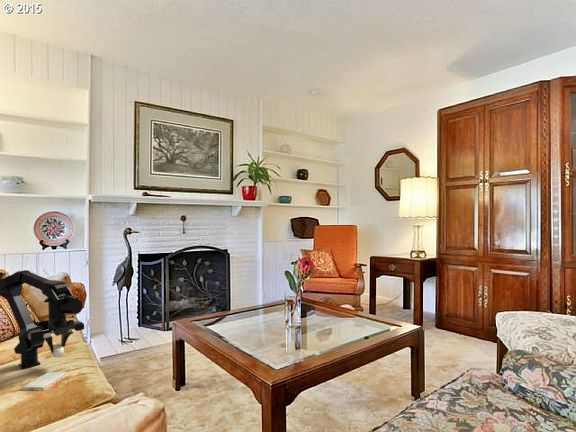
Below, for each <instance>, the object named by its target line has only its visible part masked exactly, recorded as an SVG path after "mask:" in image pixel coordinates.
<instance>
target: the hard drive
mask: <svg viewBox="0 0 576 432" xmlns="http://www.w3.org/2000/svg"><path fill="white" fill-rule="evenodd" d="M64 376H65V377H66V376H68V372H67V371H47V372H46V373H44V374H42V375H41V376H39V377H37V378H36V379H34V380H32V381H31V382H29V383H27V384H26V385H23V386H21V391H29V390H28V389H42V390H41V391H44V390H46V389H47V387H48V386H49V387H51V386H52V385H54V384H55V383H57V382H58V381H60V380H62V379H63V378H65V377H64ZM61 378H62V379H61ZM56 381H57V382H56ZM53 383H54V384H53ZM51 384H52V385H51ZM50 385H51V386H50ZM49 387H48V388H49ZM45 388H46V389H45Z"/></svg>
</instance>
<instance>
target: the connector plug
mask: <svg viewBox="0 0 576 432" xmlns="http://www.w3.org/2000/svg"><path fill="white" fill-rule="evenodd" d="M50 354H51V356H53V357H54V358H61V357H64V355H65V347H63V346H62V345H61V343H55V344H53V353H52V352H51V351H50Z"/></svg>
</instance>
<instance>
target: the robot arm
mask: <svg viewBox="0 0 576 432" xmlns="http://www.w3.org/2000/svg"><path fill="white" fill-rule="evenodd" d="M24 284H25V285H27V286H28V285H29V286H30V287H33V288H35V289H37V290H39V291H41V293H42V295H44V296H46V297H47V298H46V299H45V300H44V301H43V303H45V304H46V303H48V308H47V309H48V316H47V318H48V327H47V329H45V330H44V328H43V325H36V324H35V323H34V320H33V318H32V316H31V313H30V311H29V309H28V306H27V305H26V303H25V301H24V300H25V299H24V298H23V296H22V292H23V289H24V288H23V287H24V286H23V285H24ZM0 296H1V297H2V298H3V299H5V300H6V302H7V303H8V305H9V308H10V310H11V313H12V314H13V315H12V316H14V319H15V322H16V323H17V326H18V328H19V335H18V341H19V342H18V343H17V345H16V346H15V347H14V348H13V350H14V354H16V355H20V363H18V367H19V368H20V370H25V369H28V368H31V367H32V368H33V367H35V366H40V365H41V362H40V361H39V351H38V349H40V348H43V347H44V344H45V342H46V344H47V346H48V347H49V350H50V353H51V352H52V353H53V345H54V344H53V338H54V337H53V336H52V335H53V334H54V335H55V336H56V337H57V336H58V337H59V336H60V335H61V339H60V342H61V343H60V344H61V345H62V346H63V347H64V348H65V347H66V344H67V340H68V338H69V337H70V336H71V335H72V334H74V332H73V331H76V332H79V331H82V330H83V331H84V330H85V324H84V323H83V322H82V321H80V320H76V321H75V320H74V319H69V320H67V317H66V315H78V314H80V313H81V312H82V310H83V308H84V307H83V306H84V303H83V302H82V300H80V299H79V298H80V297H79V296H74V294H73V291H71V289H70V288H69V286H68V284H67V283H66V282H65V281H62V280H55V279H54V280H53V279H48V278H46V277H43V276H41V275H39V274H36V273H33V272H31V271H30V270H27V269H26V270H18V271H15V272H14V273H12V274H10V275H8V276H6V277H4V278H0Z"/></svg>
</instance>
